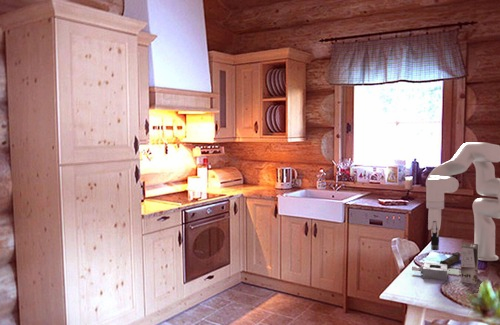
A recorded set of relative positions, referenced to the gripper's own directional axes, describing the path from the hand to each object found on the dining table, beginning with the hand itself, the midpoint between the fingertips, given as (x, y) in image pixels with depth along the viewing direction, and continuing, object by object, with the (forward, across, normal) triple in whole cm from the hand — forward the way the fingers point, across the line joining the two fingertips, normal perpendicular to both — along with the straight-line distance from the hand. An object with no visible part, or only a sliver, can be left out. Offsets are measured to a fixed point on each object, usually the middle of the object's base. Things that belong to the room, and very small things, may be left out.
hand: (435, 243), depth 195 cm
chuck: (+16, 0, -2) cm, 16 cm away
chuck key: (+3, 0, 0) cm, 3 cm away
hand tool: (+16, -24, +6) cm, 30 cm away
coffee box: (+16, -1, +14) cm, 21 cm away
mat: (+16, -10, +6) cm, 20 cm away
